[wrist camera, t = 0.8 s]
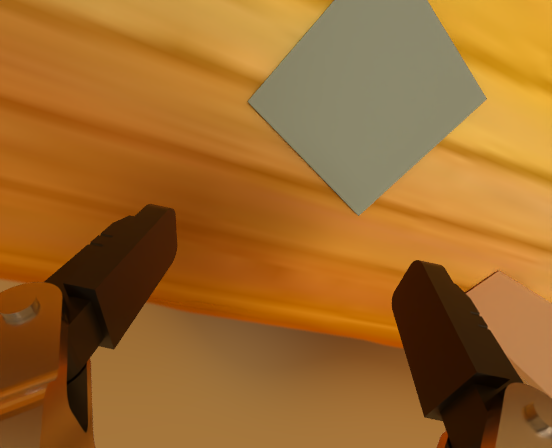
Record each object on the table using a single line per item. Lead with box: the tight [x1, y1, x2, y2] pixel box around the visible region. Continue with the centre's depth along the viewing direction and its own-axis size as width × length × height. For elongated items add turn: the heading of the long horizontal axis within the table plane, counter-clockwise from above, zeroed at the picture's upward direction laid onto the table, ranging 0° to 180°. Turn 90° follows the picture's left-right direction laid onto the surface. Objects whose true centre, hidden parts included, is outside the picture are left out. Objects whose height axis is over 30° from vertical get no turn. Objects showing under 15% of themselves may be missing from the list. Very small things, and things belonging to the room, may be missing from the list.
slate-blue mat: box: [248, 0, 487, 216], centre depth 25 cm, size 16×16×1 cm
